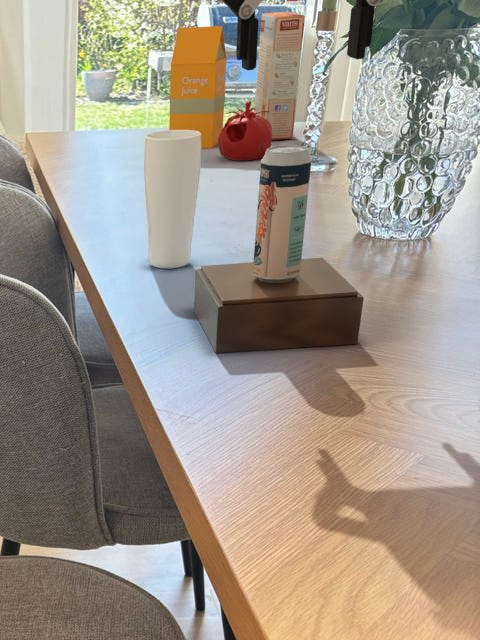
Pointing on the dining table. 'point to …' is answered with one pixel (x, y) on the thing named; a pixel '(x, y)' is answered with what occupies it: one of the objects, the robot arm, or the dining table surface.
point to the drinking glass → (171, 194)
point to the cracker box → (279, 70)
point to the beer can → (281, 213)
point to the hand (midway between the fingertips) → (301, 63)
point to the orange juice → (198, 82)
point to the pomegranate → (245, 135)
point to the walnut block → (276, 308)
